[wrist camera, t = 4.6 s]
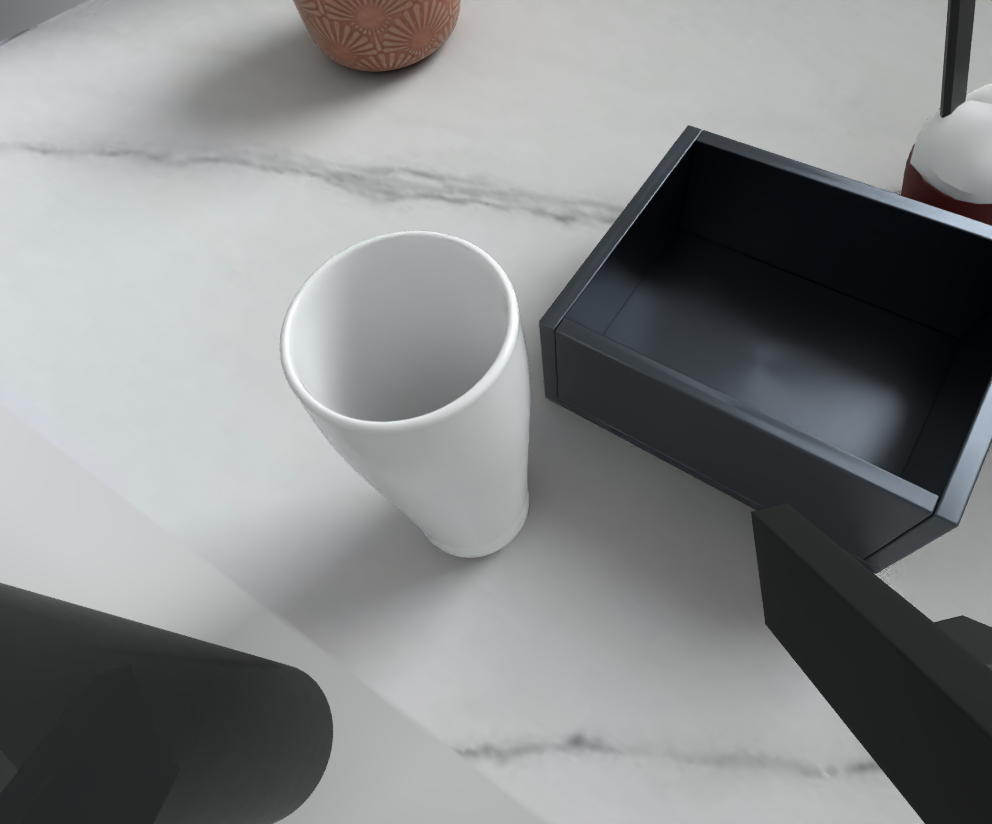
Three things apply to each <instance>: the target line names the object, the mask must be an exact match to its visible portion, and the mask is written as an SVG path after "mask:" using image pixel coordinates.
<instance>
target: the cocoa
mask: <svg viewBox="0 0 992 824" xmlns="http://www.w3.org/2000/svg"><path fill="white" fill-rule="evenodd" d="M974 10H975V0H948V12H947V26H946V39H945V53H944V66H943V80H942V94H941V107H940V108H939V109H938V110H937V111H936V112H935V113H934V114H933V115H932V116H930V117H929V118H928V119H927V121H926V122H925V124H924V126H923V127H922V129H921V130H920V132H919V133H918V135H917V139H916V142H915V144H914V145H913V147H912V150H911V152H910V155H909V157H908V160H907V163H906V168H905V173H904V179H903V185H902V192H901V196H904V197H907V198H910V199H913V200H916V201H919V202H922V203H925V204H928V205H931V206H934V207H937V208H940V209H943V210H946V211H949V212H952V213H955V214H958V215H961V216H964V217H967V218H970V219H973V220H976V221H979V222H982V223H985V224H988V225H991V226H992V83H990V84H987V85H985V86H982V87H980V88H977V89H976V90H974V91H973V92H971V93H970V94H968V95H967V96H966V91H967V81H968V71H969V61H970V51H971V40H972V30H973V20H974Z"/></svg>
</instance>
